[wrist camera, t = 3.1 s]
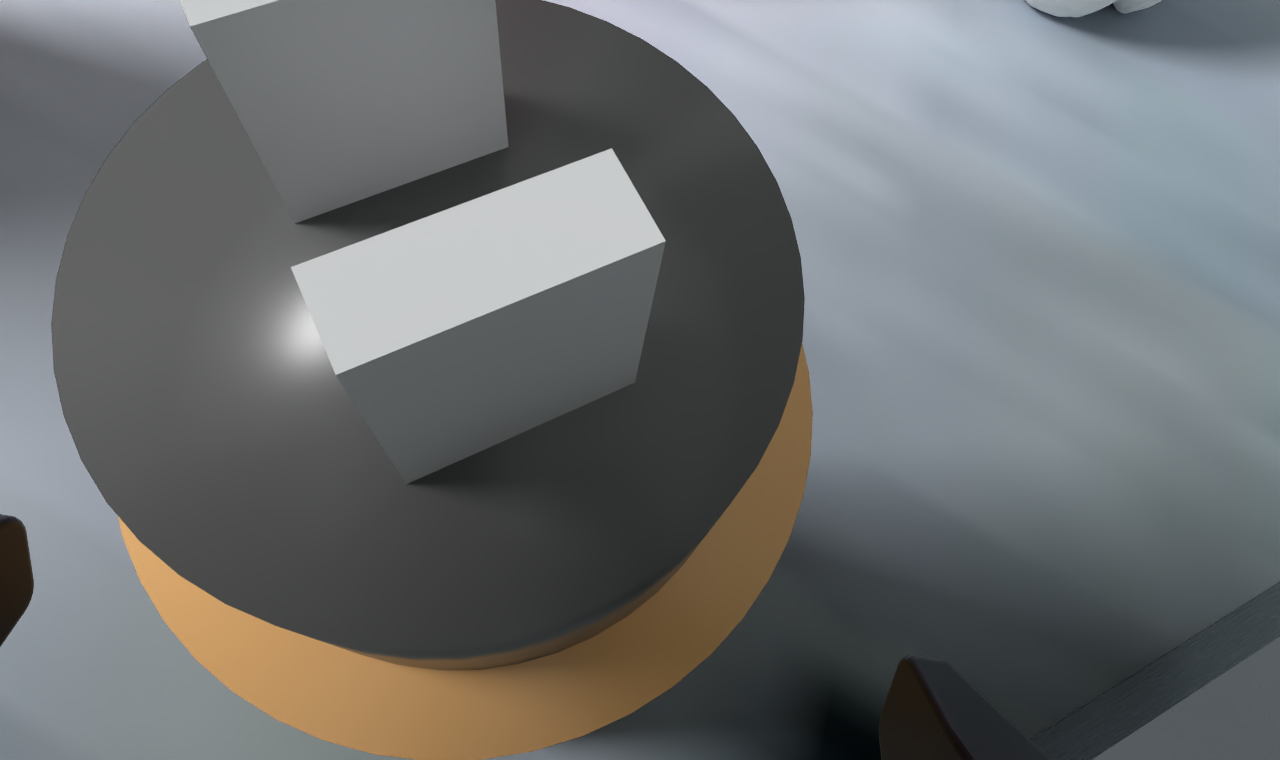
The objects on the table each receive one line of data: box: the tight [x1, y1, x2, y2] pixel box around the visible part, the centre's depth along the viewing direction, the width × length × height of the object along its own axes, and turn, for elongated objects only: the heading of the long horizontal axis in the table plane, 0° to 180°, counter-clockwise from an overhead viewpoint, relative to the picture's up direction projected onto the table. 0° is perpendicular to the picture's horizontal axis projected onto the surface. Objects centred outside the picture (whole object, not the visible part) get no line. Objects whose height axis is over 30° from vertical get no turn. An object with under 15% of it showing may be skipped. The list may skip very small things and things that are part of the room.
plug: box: [51, 0, 813, 760], centre depth 11 cm, size 6×6×16 cm
